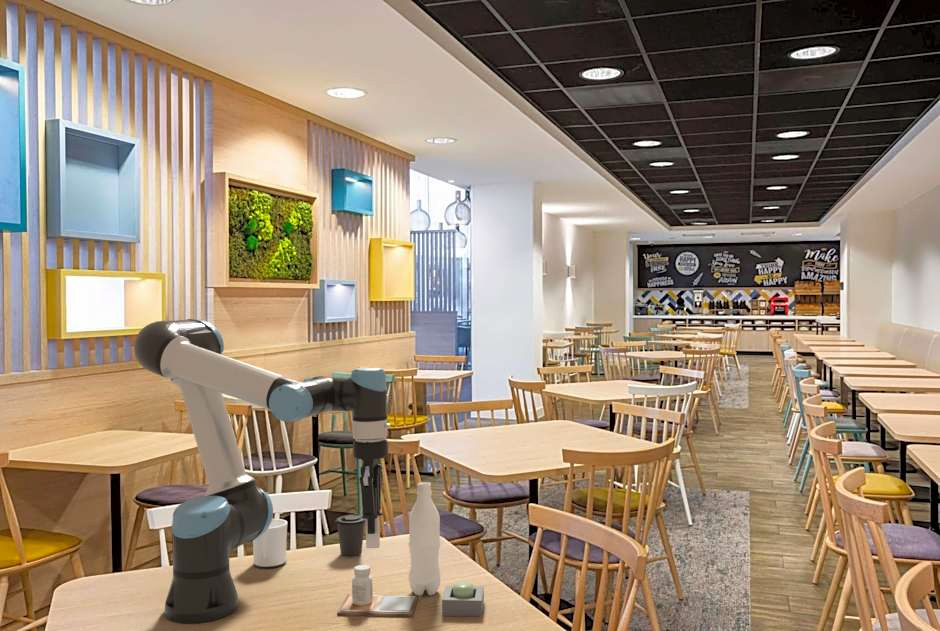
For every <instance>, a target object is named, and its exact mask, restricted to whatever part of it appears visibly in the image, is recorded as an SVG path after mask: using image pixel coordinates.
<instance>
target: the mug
mask: <svg viewBox="0 0 940 631" xmlns="http://www.w3.org/2000/svg"><path fill="white" fill-rule="evenodd" d="M287 532H288V521H287V520H285V519H281V518H272V521H271V523H270V525H269V527H268V529H267V530H266V531H265V532H264V533H263V534H262V535H260V536H259V537H257V538H256V539H255V540H253V541H252V547H253V548H252V550H253V555H252V557H253V566H254V567H256V568H257V569H262V570H268V569H270V570H271V569H276V568H280V567H283V566H284V565H286V563H287Z"/></svg>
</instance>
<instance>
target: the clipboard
mask: <svg viewBox="0 0 940 631" xmlns="http://www.w3.org/2000/svg"><path fill="white" fill-rule="evenodd" d="M372 595H373V600H372V603H370V604H368V605H364V606H360V605H355V604H353V602H352V594H347V596H346V597H345V599H344V600H343V602H342V604H341V605H340V607H339V609H338V610H337V613H336V615H337V616H350V617H351V616H352V617H353V616H354V617H355V616H358V617H359V616H360V617H361V616H363V617H364V616H365V617H393V618H394V617H396V618H397V617H399V618H400V617H402V618H403V617H405V618H412V617H413V615H414V612H415V610H416V606H417V604H418V601H419V595H387V594H386V595H385V594H383V595H382V594H380V595H379V594H376V595H375V594H372Z"/></svg>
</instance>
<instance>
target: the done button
mask: <svg viewBox="0 0 940 631" xmlns="http://www.w3.org/2000/svg"><path fill="white" fill-rule="evenodd" d="M452 586H453V597H454V598H473V586H474V584H473V583H472V582H471V583H470V582H467V581H465V582H464V581H461V582H456V583H454V584H453V585H452Z"/></svg>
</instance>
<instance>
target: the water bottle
mask: <svg viewBox="0 0 940 631" xmlns="http://www.w3.org/2000/svg"><path fill="white" fill-rule="evenodd" d="M431 487H432V484H431V482H427V481H421V482H418V483H417V490H416V491H417V492H416V495H417V496H416V501H415V503H414V505H413V507H412V509H411V511H410V514H409V517H408V523H409V524H408V525H409V527H408V529H409V530H408V532H409V533H408V534H409V536H408V540H409V541H408V548H409V553H410V569H409V573H408V577H409V578H408V581H409V582H408V583H409V587H410V589H411V591H412V592H413V593H414V594H415V596H418V597H422V596H423V595H424V592H425V591H426V593H427V594H428V596H432V595H435V594H436V593H437V591H438V589H439V588H440V586H441V571H440V567H439V566H440V565H439V553H440V547H441V541H440V540H441V536H440V535H441V534H440V533H441V532H440V530H441V529H440V524H441V523H440V522H441V517H440V514H439V510H438V508H437V507H436V505H435V503H434V502H433V499H432V494H433V492H432V488H431Z"/></svg>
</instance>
